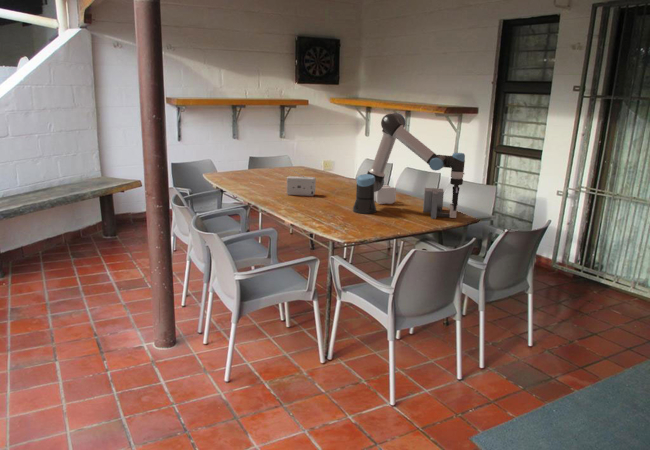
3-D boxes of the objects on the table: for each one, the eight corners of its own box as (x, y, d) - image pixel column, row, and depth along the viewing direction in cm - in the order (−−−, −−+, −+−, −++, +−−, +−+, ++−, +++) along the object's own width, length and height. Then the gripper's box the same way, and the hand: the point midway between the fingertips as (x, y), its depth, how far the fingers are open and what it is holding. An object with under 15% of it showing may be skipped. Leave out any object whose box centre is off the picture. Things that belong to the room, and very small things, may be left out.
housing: (423, 218, 328) (425, 193, 324) (423, 208, 356) (424, 184, 352) (443, 219, 327) (445, 194, 322) (441, 209, 354) (443, 185, 350)
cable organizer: (375, 204, 363) (376, 188, 360) (369, 201, 372) (370, 185, 369) (395, 203, 367) (396, 187, 364) (389, 200, 377) (390, 184, 374)
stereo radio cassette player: (315, 194, 392) (316, 167, 387) (314, 196, 384) (314, 169, 379) (287, 193, 394) (288, 166, 389) (285, 195, 386) (286, 168, 381)
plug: (431, 216, 332) (432, 204, 330) (431, 214, 336) (432, 202, 334) (456, 217, 330) (457, 205, 328) (455, 216, 334) (456, 204, 332)
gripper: (464, 180, 317) (460, 218, 323) (461, 176, 333) (458, 211, 339) (451, 179, 318) (448, 217, 324) (449, 175, 334) (446, 211, 340)
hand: (453, 214), depth 332 cm, fingers closed on plug, 4 cm apart
